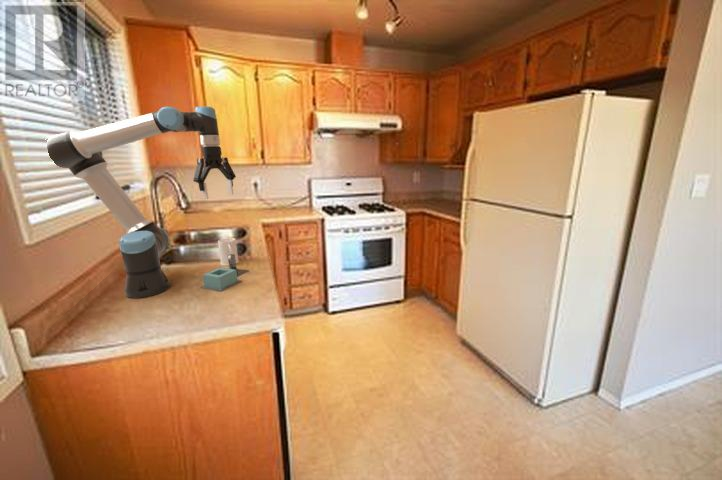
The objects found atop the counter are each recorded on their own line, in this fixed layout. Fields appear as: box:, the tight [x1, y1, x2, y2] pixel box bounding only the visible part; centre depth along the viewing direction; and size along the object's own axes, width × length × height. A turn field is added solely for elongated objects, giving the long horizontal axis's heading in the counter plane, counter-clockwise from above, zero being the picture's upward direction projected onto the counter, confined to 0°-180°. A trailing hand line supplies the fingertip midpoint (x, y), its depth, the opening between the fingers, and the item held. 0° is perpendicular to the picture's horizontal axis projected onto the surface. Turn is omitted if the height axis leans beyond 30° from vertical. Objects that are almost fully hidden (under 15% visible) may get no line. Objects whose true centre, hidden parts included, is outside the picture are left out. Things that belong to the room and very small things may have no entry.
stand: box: [228, 254, 250, 278], centre depth 145 cm, size 10×10×9 cm
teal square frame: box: [202, 267, 239, 289], centre depth 132 cm, size 9×9×5 cm
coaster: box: [200, 279, 242, 293], centre depth 133 cm, size 11×11×1 cm
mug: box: [217, 237, 240, 266], centre depth 158 cm, size 12×8×12 cm
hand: (218, 196), depth 142 cm, fingers open, 13 cm apart
